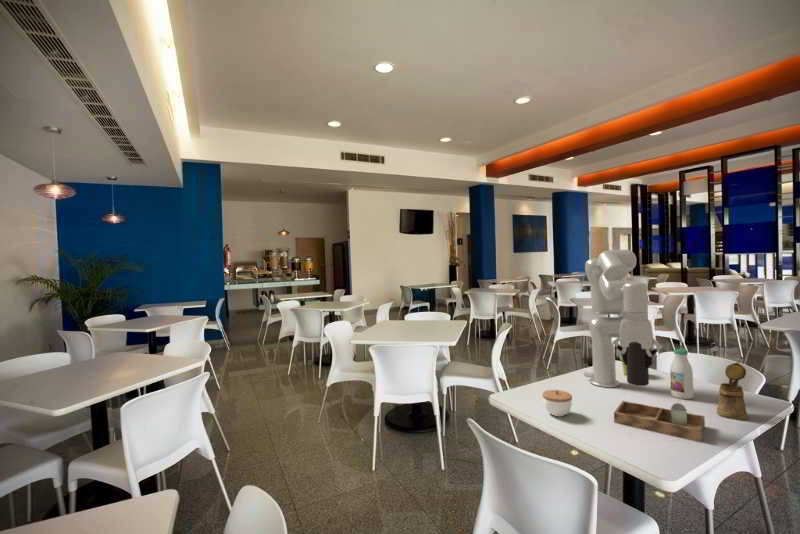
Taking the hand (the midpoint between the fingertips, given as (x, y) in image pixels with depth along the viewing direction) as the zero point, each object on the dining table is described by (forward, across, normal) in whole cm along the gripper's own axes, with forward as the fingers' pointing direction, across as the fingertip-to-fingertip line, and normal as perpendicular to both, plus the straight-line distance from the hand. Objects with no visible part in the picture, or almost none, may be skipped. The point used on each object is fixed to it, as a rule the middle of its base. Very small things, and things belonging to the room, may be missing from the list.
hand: (637, 365), depth 140 cm
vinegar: (+7, 0, 0) cm, 7 cm away
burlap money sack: (+21, +26, +29) cm, 44 cm away
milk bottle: (+21, +9, +39) cm, 45 cm away
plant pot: (+21, -14, +60) cm, 65 cm away
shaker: (+20, +12, 0) cm, 24 cm away
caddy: (+21, +6, 0) cm, 22 cm away
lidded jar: (+21, -26, -9) cm, 35 cm away
